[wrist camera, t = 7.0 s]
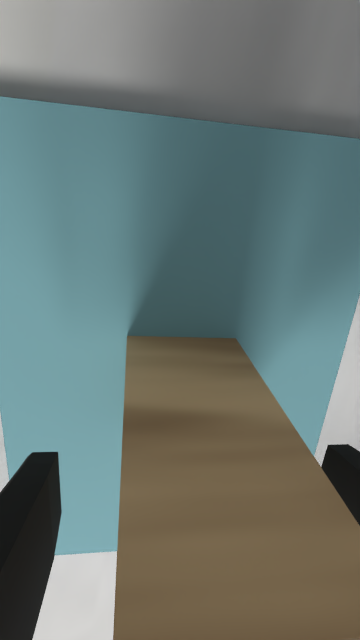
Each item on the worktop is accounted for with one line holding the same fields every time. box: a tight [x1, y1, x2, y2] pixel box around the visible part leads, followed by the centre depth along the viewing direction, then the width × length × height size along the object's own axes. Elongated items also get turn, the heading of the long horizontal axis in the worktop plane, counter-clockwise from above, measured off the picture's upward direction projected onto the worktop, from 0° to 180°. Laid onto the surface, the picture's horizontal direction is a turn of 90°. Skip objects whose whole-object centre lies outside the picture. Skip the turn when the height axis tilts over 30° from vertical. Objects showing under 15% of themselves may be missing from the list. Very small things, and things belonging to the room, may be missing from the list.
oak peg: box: [113, 336, 360, 640], centre depth 9 cm, size 4×4×9 cm
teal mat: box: [0, 96, 360, 555], centre depth 13 cm, size 18×13×1 cm
